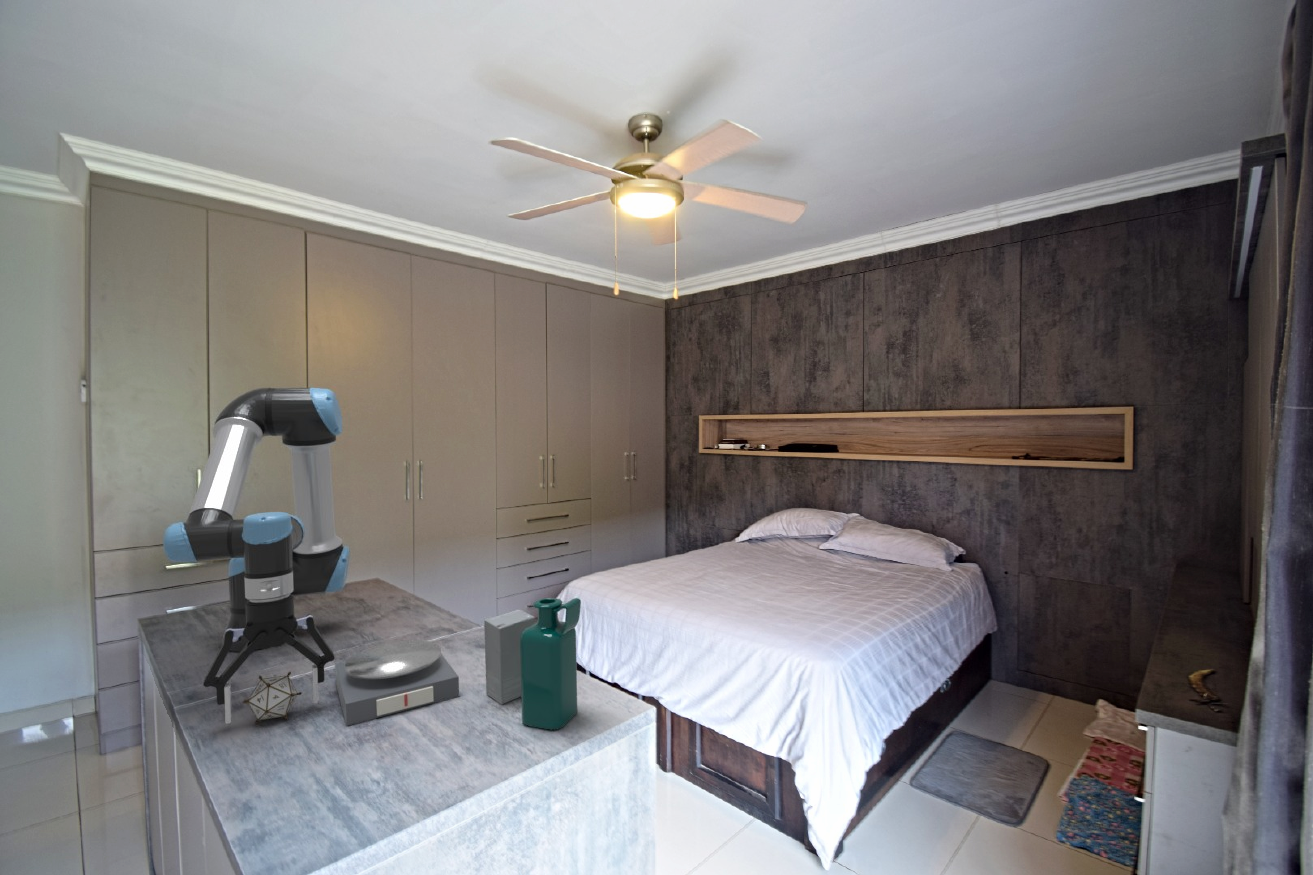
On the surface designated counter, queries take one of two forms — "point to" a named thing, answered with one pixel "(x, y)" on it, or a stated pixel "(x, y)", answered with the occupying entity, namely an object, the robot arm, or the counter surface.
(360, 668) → the pan
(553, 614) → the pitcher
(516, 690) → the skincare box
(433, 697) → the scale
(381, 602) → the counter surface
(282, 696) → the game die
